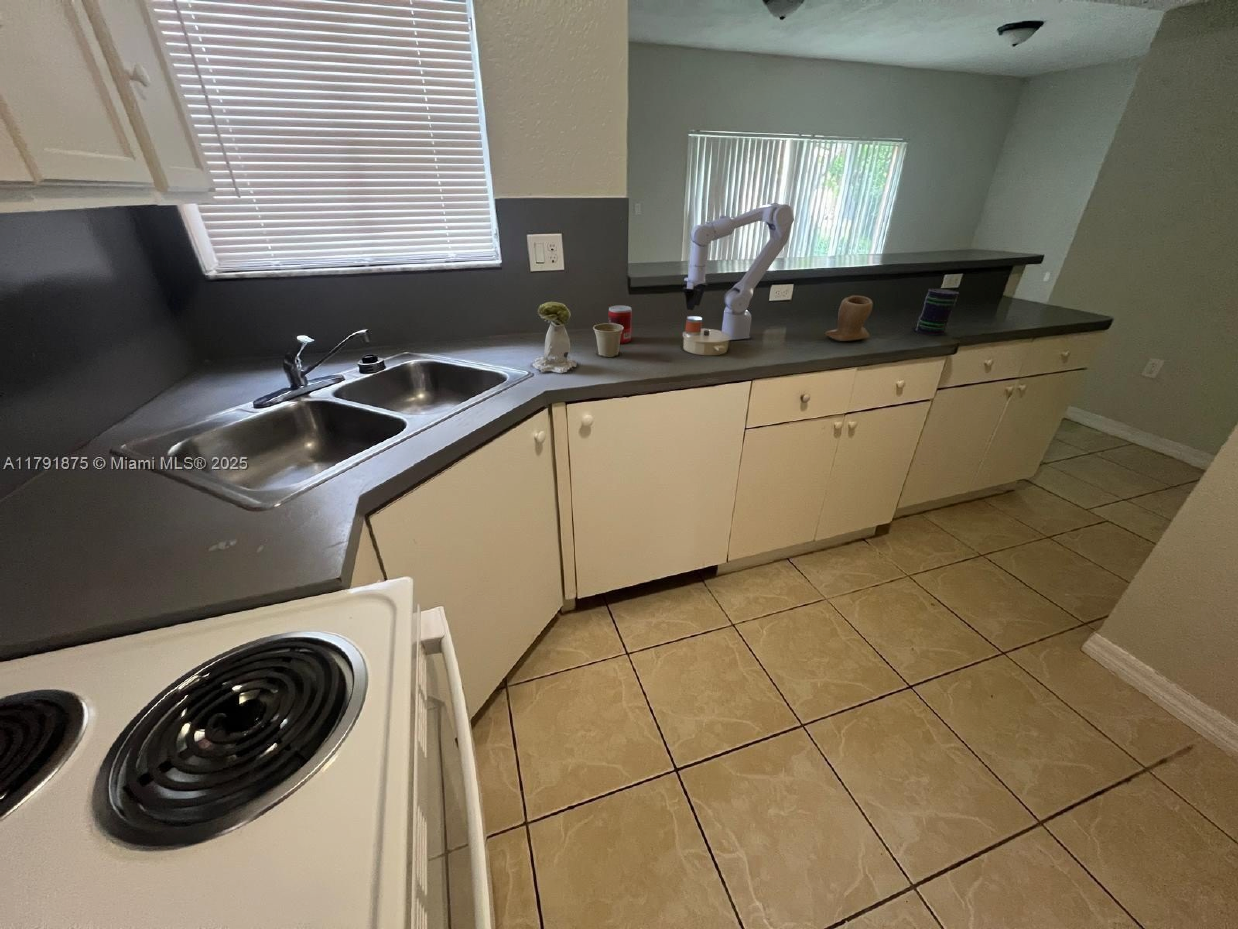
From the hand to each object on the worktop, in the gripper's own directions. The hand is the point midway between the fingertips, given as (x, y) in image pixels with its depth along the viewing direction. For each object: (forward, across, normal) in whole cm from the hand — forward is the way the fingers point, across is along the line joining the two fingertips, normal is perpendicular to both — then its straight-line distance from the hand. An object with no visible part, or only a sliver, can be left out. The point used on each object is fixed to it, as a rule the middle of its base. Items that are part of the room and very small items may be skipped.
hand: (693, 307), depth 168 cm
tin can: (+6, +10, +4) cm, 13 cm away
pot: (+10, +10, +8) cm, 17 cm away
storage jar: (+9, -50, +80) cm, 95 cm away
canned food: (+11, +15, -21) cm, 28 cm away
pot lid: (+6, +10, +8) cm, 15 cm away
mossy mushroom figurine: (+11, +48, -27) cm, 57 cm away
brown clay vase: (+10, -24, +52) cm, 58 cm away
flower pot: (+11, +31, -18) cm, 37 cm away
